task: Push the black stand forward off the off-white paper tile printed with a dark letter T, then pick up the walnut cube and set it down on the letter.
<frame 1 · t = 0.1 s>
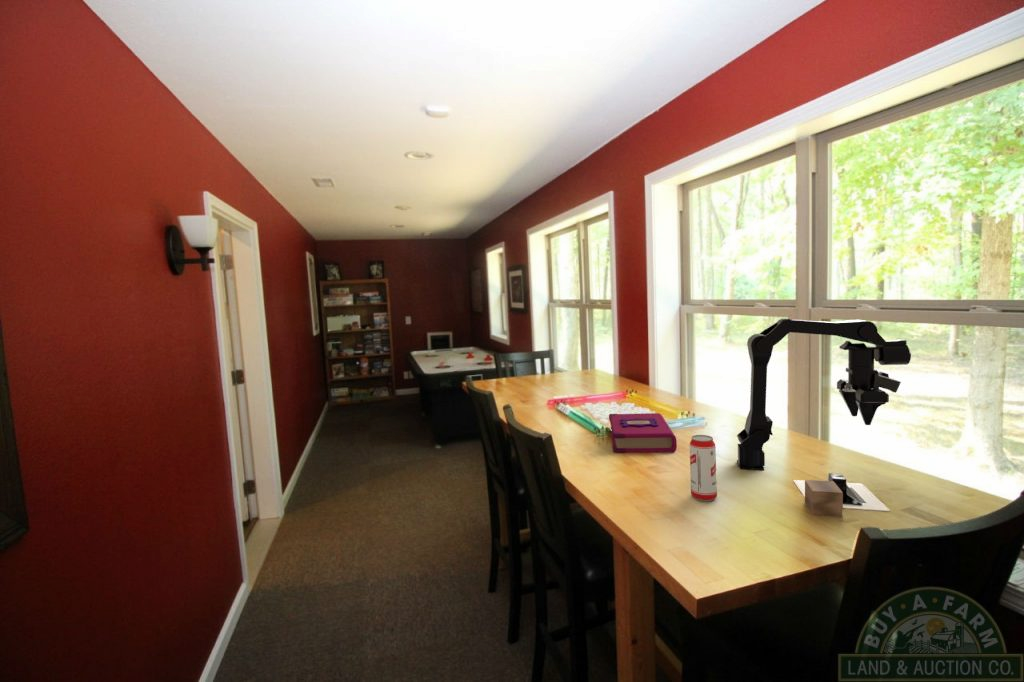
hand: (860, 420, 130), 15 cm above the table, tool pointing down, fingers open, 9 cm apart
letter tile: (837, 494, 118), on the table
beer can: (703, 498, 121), on the table
cube: (823, 510, 110), on the table, touching letter tile
book: (640, 441, 171), on the table
black stand: (837, 494, 118), on the table, touching letter tile
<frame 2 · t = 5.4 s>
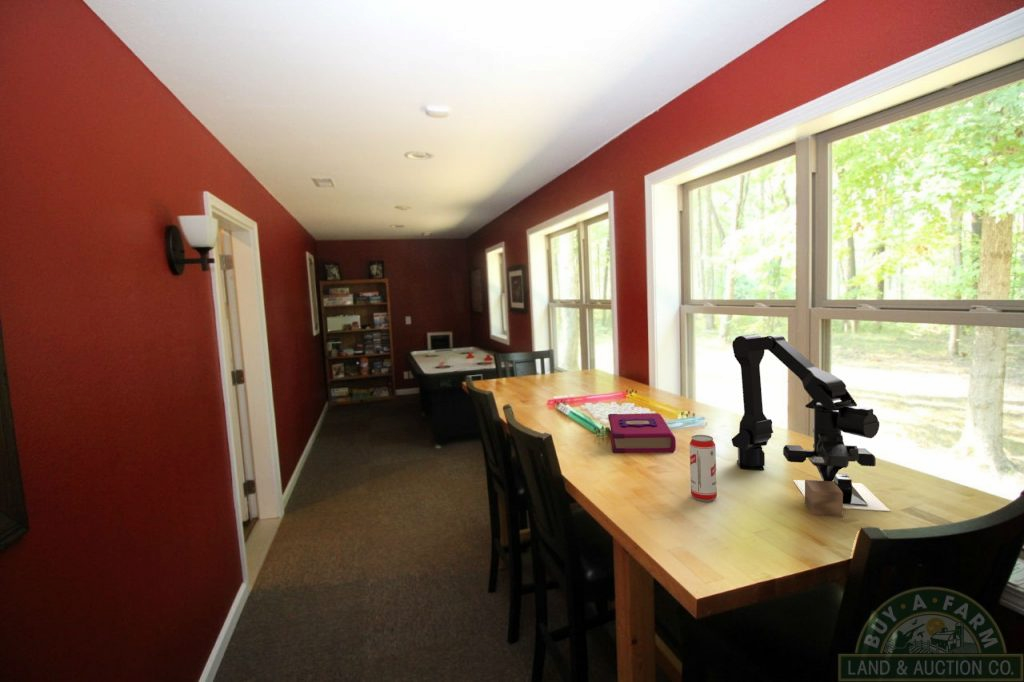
hand: (827, 487, 118), 2 cm above the table, tool pointing down, fingers closed
black stand: (842, 494, 117), on the table, touching gripper
everything else where it was.
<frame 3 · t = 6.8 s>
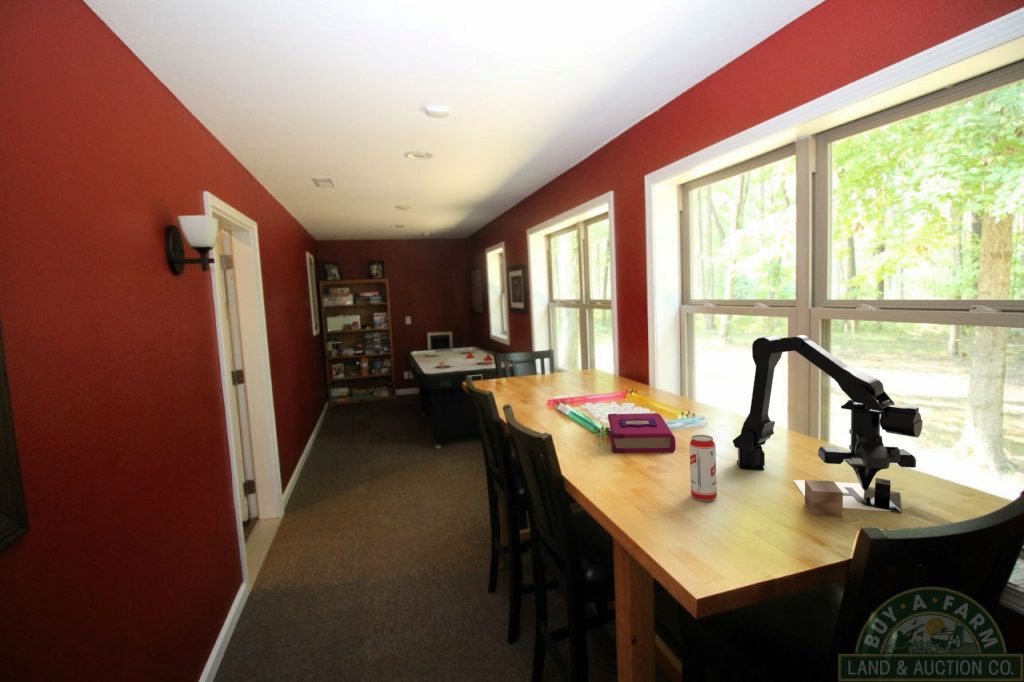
hand: (864, 489, 116), 2 cm above the table, tool pointing down, fingers closed
black stand: (881, 500, 113), on the table, touching gripper, letter tile
everything else where it was.
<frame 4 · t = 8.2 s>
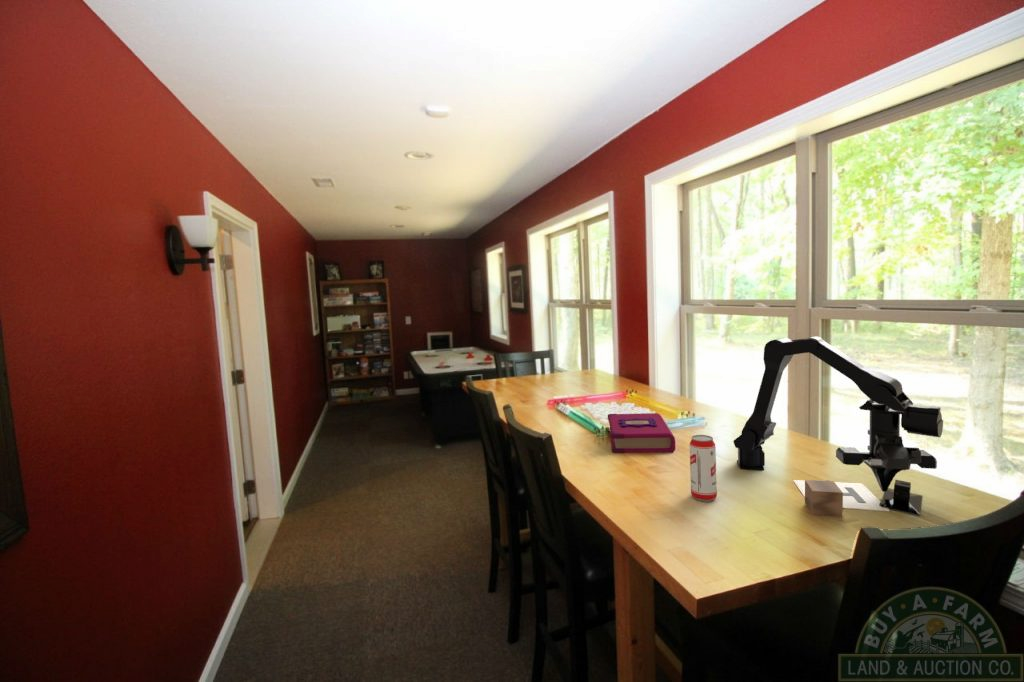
hand: (883, 491, 114), 2 cm above the table, tool pointing down, fingers closed
black stand: (901, 502, 112), on the table, touching gripper, letter tile
everything else where it was.
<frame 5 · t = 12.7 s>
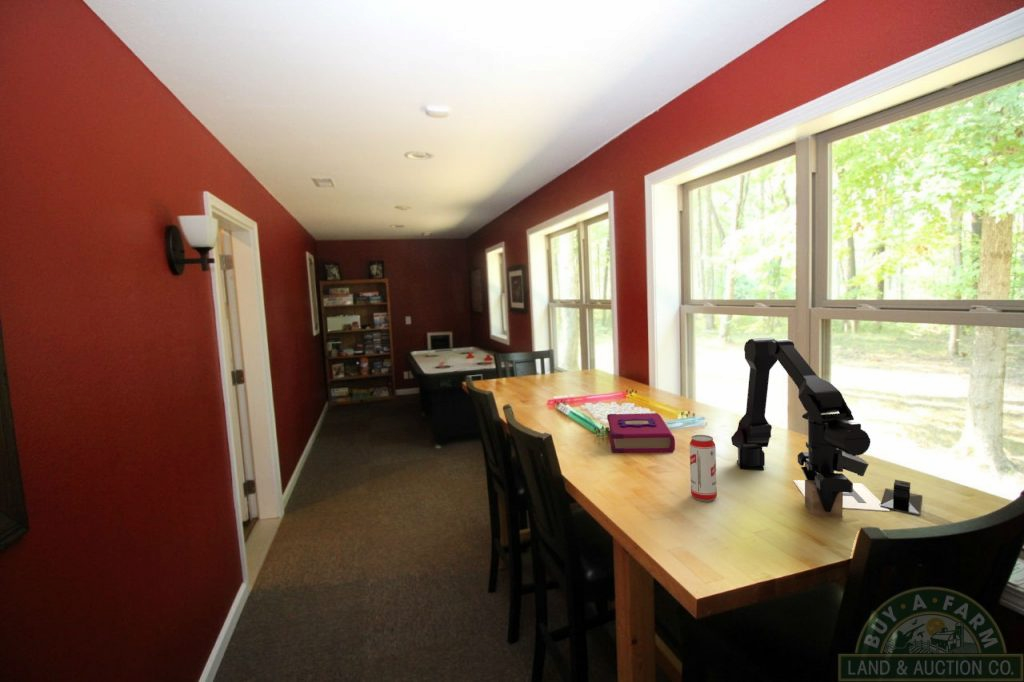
hand: (823, 505, 110), 1 cm above the table, tool pointing down, fingers closed on cube, 6 cm apart
cube: (823, 509, 110), on the table, touching gripper, letter tile
black stand: (901, 502, 112), on the table, touching letter tile
everything else where it was.
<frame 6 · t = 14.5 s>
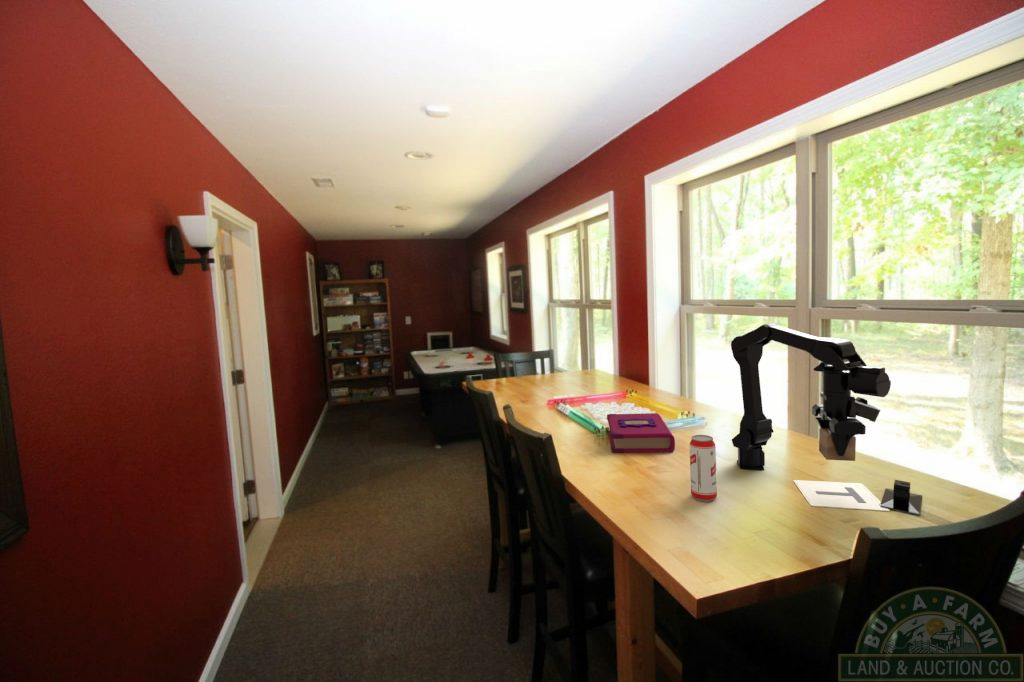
hand: (836, 451, 116), 11 cm above the table, tool pointing down, fingers closed on cube, 6 cm apart
cube: (836, 455, 117), point 10 cm above the table, touching gripper
everything else where it was.
when the fingers open (3 cm above the table, at t = 16.5 s): cube drops 2 cm, resting on letter tile.
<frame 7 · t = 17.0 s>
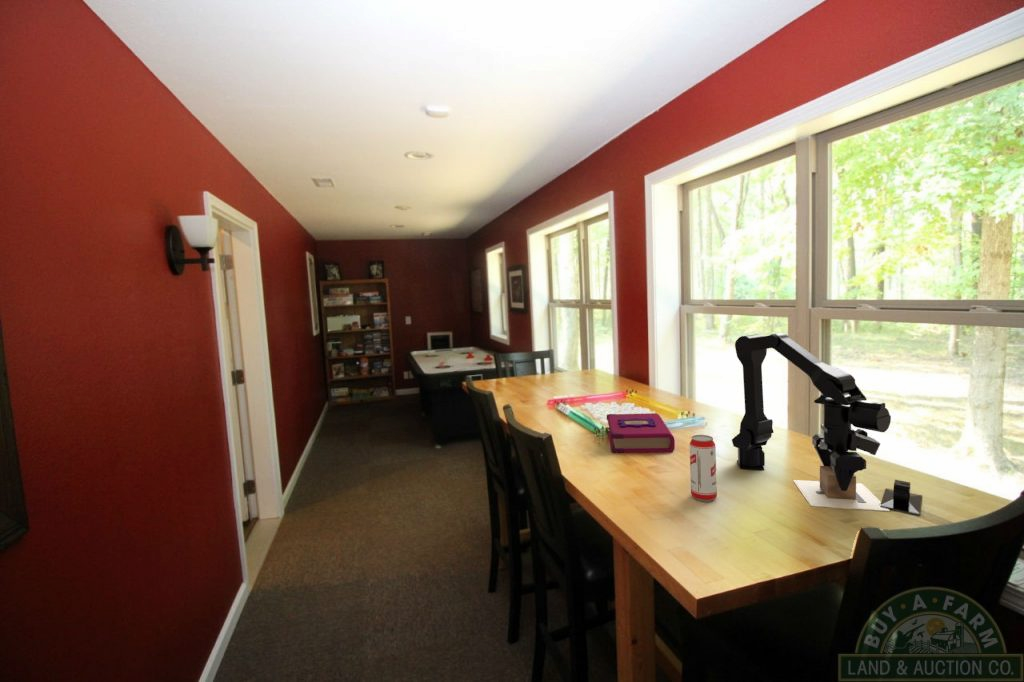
hand: (837, 483, 117), 3 cm above the table, tool pointing down, fingers open, 9 cm apart
cube: (837, 493, 118), resting on letter tile
everything else where it was.
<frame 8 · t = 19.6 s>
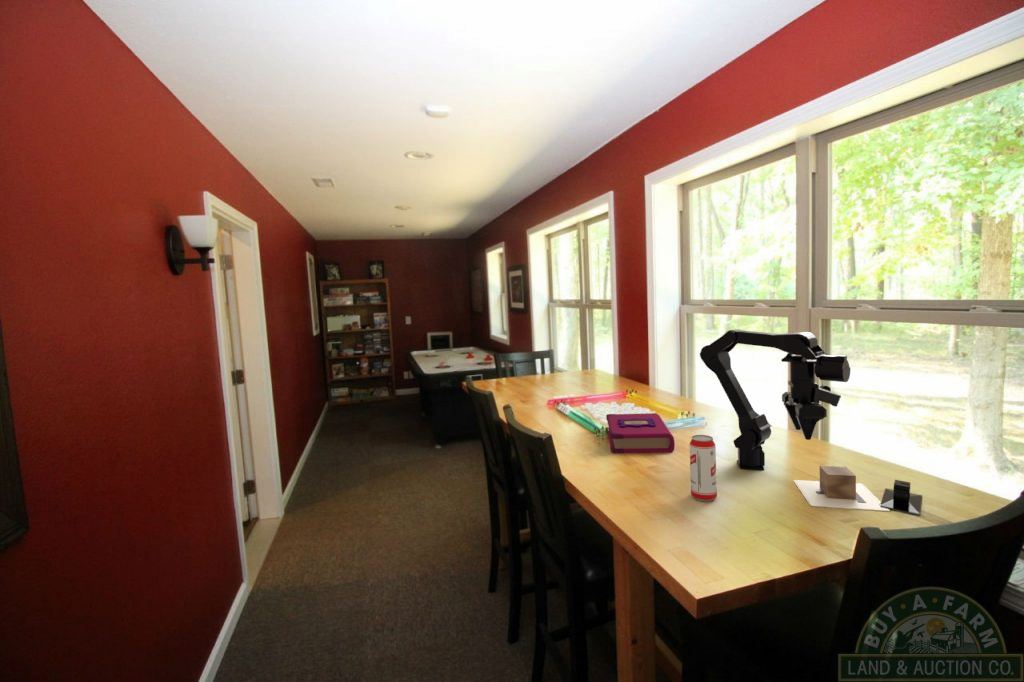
hand: (803, 434, 127), 13 cm above the table, tool pointing down, fingers open, 9 cm apart
nothing on the table moved.
at the end: black stand inside the target area (13.4 cm from its centre), on the table; cube 0.1 cm from the letter tile (horizontally); cube resting on letter tile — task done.
